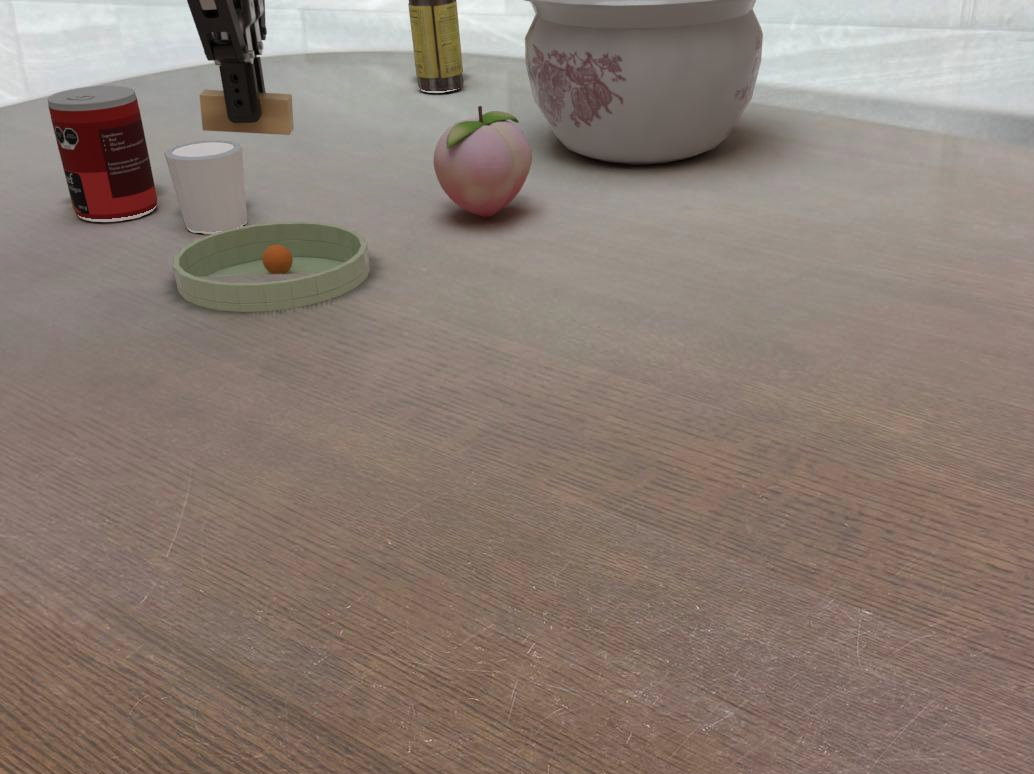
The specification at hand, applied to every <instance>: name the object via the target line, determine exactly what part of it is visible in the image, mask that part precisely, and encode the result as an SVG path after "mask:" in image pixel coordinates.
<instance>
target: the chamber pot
mask: <svg viewBox="0 0 1034 774" xmlns="http://www.w3.org/2000/svg"><path fill="white" fill-rule="evenodd" d="M524 1H525V2H529V3H530V4H531V6H532V10H533V11H534V17H533V19H532V21H531V24H530V25H529V28H528V30H527V32H526V34H525V37H524V55H525V67H526V71H527V76H528V80H529V84H530V88H531V93H532V97H533V101H534V103H535V105H536V106H537V108H538V110H539V111H540V113H541V114H542V116H543V118H544V119H545V121H546V123H547V124H548V125H549V128H550V129H551V130H552V132H553V134H554V135H555V137H556V138H557V139H558V140H559V141H560V143H562V144H563V145H564V146H565V148H567V149H568V150H569V151H571V152H574V153H576V154H578V155H581V156H583V157H586V158H589V159H593V160H595V161H598V162H604V163H609V164H616V165H627V166H645V165H646V166H648V165H649V166H650V165H660V164H662V165H663V164H669V163H675V162H680V161H684V160H687V159H690V158H692V157H695V156H698V155H700V154H703V153H706V152H709V151H711V150H713V149H715V148H716V147H717V146H718V145H720V144H721V143H722V142H723V141H724V140H725V139H726V138H727V137H728V136H729V135H730V133H731V132H732V130H733V129H734V128H735V126H736V124H737V122H738V121H739V120H740V118H741V116H742V114H743V113H744V111H745V110H746V108H747V107H748V105H749V104H750V102H751V100H752V99H753V95H754V92H755V91H754V90H755V87H756V83H757V79H758V76H759V71H760V67H761V64H762V54H763V39H764V33H763V30H762V29H763V28H762V26H761V24H760V22H759V20H758V18H757V15H756V12H755V10H754V7H755V4H756V2H757V0H524Z"/></svg>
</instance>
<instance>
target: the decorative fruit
mask: <svg viewBox="0 0 1034 774" xmlns="http://www.w3.org/2000/svg"><path fill="white" fill-rule="evenodd" d="M477 109H478V110H477V112H478V116H476V117H471V118H467V119H463V120H460V121H458V122H455V123H453V124H452V125H450V126H449V127H448V128H447V129H446V130H445V131H444V132H443V133H442V135H441V136H440V137H439V139H438V141H437V143H436V145H435V148H434V152H433V169H434V173H435V176H436V180H437V182H438V183H439V186H440V187H441V189H442V190H443V191H444V193H445V194H446V196H447V197H448V198H449V199H450V200H451V201H452V202H453V203H454V204H455V205H457V206H458V207H460V208H462V209H463V210H465V211H467V212H470V213H471V214H474V215H477V216H481V217H483V218H487V219H488V218H490V217H491V216H493V215H496V214H497V213H499V212H500V211H501V210H503V209H504V208H505V207H507V206H508V205H509V204H510V203H511V202H513V200H515V198H516V197H517V196H518V194H519V193H520V191H521V190H522V188H523V187H524V184H525V182H526V180H527V178H528V176H529V173H530V170H531V168H532V162H533V151H532V147H531V144H530V141H529V140H528V138H527V136H526V135H525V133H524V132H523V131H522V130H521V129H520V128H519V127H518V126H517V125H516V124H514V123H517V124H519V123H520V122H519V119H518V118H517V117H515V115H513V114H511V113H509V112H505V111H501V110H500V111H499V110H492V111H488V112H485V113H483V106H482V105H478V106H477ZM510 121H511V122H510ZM512 122H514V123H512Z"/></svg>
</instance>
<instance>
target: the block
mask: <svg viewBox="0 0 1034 774" xmlns="http://www.w3.org/2000/svg"><path fill="white" fill-rule="evenodd" d="M259 99H260V106H261V112H262V115H261V118H260V119H259V120H258V121H257V122H254V123H233V122H231V121H230V120H229V119H228V116H227V110H226V104H225V98H224V92H223V89H221V90H219V89H204V90H203V91H202V92H201V93H199V102H200V103H199V105H200V115H201V127H202V130H203V131H204V132H205V131H206V132H207V131H208V132H209V131H210V132H226V133H244V134H245V133H246V134H263V135H282V136H283V135H284V136H290V135H291V134H292V133H293V131H294V129H295V128H294V114H293V113H294V112H293V111H294V110H293V109H294V108H293V95H292V94H291V93H275V92H266V93H259Z"/></svg>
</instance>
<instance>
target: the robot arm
mask: <svg viewBox="0 0 1034 774" xmlns="http://www.w3.org/2000/svg"><path fill="white" fill-rule="evenodd" d="M186 2H187V5H188V7H189V11H190V13H191V14H190V15H191V16H192V20H193V23H194V25H195V28H196V31H197V34H198V37H199V40H200V42H201V43H200V44H201V46H202V49H203V53H204V55H205V58H206V59H207V61H208V62H210V61H211V62H212V61H213V62H214V65H215V66H218V67H219V73H220V78H221V85H222V91H223V92H224V98H225V104H226V110H227V116H228V119H229V120H230V121H231V122H233V123H254V122H257V121H258V120H259V119H260V118H261V115H262V112H261V106H260V99H259V93H267V92H266V87H265V85H266V84H265V79H264V71H263V67H262V59H261V56H262V55H263V50H264V43H263V41H266V40H267V39H266V38H267V34H268V30H267V26H266V24H267V23H266V2H265V0H186Z"/></svg>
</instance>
